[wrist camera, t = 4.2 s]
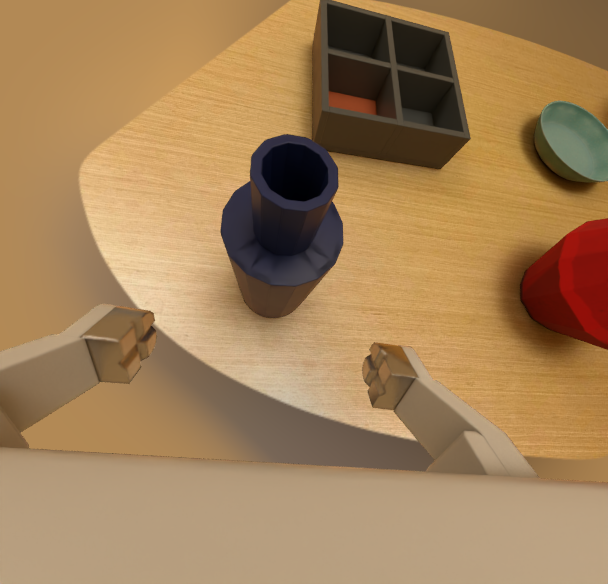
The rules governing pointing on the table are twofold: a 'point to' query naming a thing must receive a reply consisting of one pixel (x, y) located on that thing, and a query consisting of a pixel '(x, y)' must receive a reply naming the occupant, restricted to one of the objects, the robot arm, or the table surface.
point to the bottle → (572, 285)
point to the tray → (385, 88)
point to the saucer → (572, 142)
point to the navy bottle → (283, 225)
